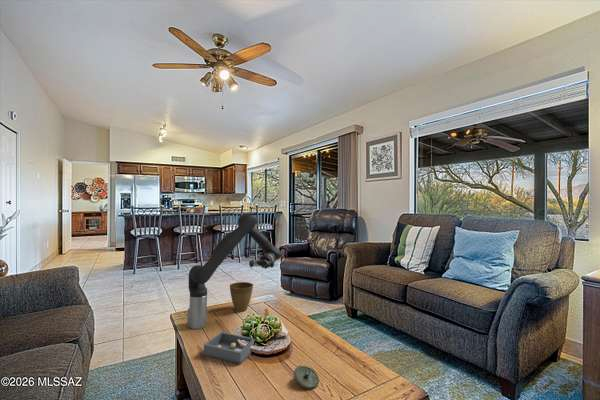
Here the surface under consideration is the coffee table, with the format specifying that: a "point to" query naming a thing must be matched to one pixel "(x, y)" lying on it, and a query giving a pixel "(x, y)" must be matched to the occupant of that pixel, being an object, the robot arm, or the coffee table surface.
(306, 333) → the coffee table surface
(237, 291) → the plant pot
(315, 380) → the lid
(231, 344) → the parts tub
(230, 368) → the coffee table surface
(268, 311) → the tub lid
